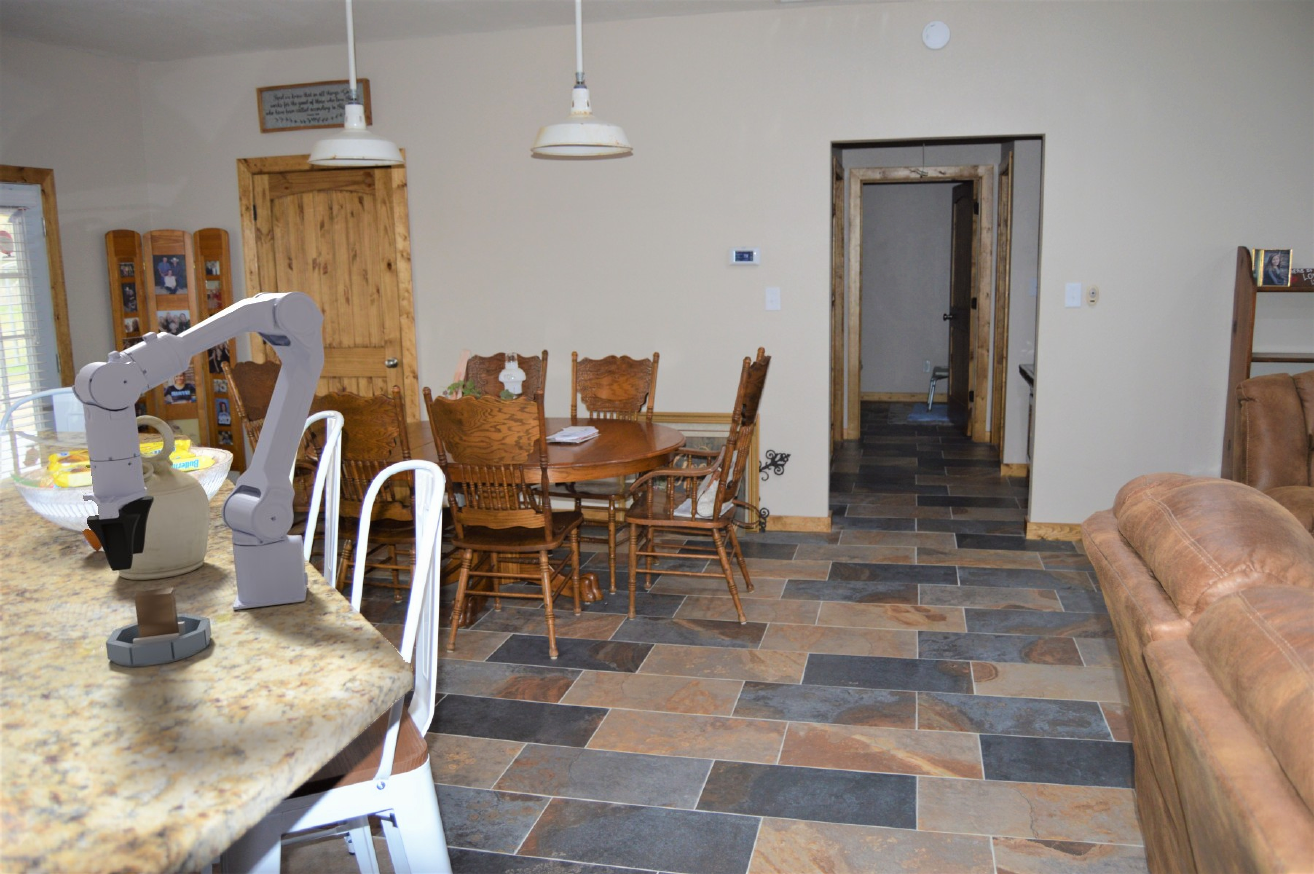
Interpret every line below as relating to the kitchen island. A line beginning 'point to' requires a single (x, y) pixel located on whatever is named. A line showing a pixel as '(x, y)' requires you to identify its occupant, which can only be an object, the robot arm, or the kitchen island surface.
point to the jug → (170, 515)
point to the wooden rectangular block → (156, 612)
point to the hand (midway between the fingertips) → (128, 561)
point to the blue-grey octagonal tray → (159, 643)
